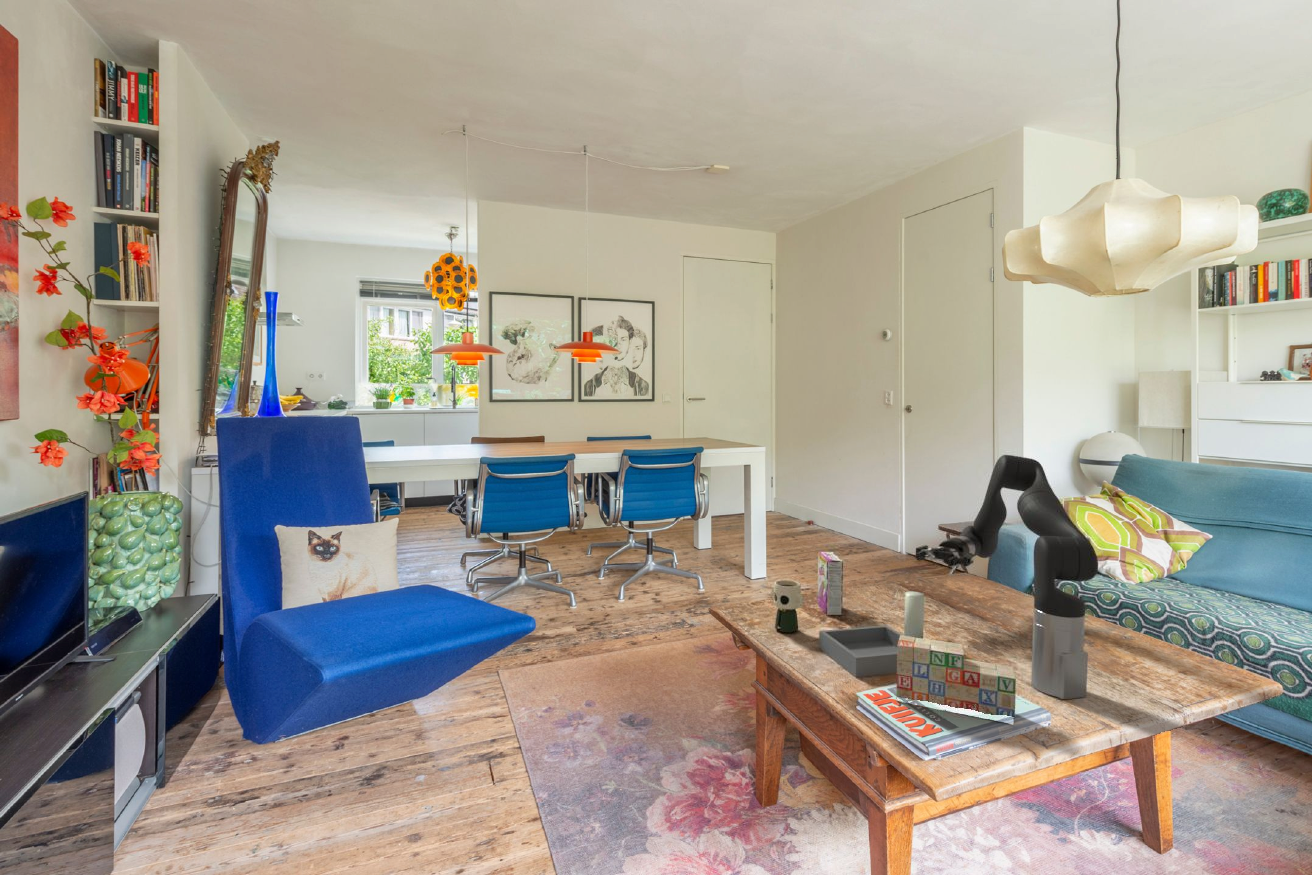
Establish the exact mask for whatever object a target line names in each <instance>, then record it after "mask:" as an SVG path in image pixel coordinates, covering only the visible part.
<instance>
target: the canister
mask: <svg viewBox="0 0 1312 875" xmlns="http://www.w3.org/2000/svg"><path fill="white" fill-rule="evenodd" d="M924 617H925V594H924V593H922V592H918V591H906V592H905V593H904V622H903V623H904V626H903V627H904V628H903V635H904V636H909V637H915V638H922V639H924Z"/></svg>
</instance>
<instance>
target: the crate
mask: <svg viewBox="0 0 1312 875" xmlns="http://www.w3.org/2000/svg"><path fill="white" fill-rule="evenodd" d="M900 635H903V636H904V634H902V633H900V632H899V631H897V630H895V629H893V628H892V627H890V626H888V624H887V625H886V624H885V625H873V626H864V627H863V626H862V627H852V628H849V627H848V628H838V629H829V630H828V629H825V630H819V634H818V636H819V637H818V649H819V650H820V651H822V652H823V653H824V654H825V655H826V656H828V657H829V658H830V659H832V660H833V661H834V662H835V663H837V664H838V665H839V666H841V667H842V668H843V669H845V670H846V671H847V672H848V673H849V674H851V675H852V676H853V677H855V678H865V677H873V676H882V675H883V676H884V675H893V674H894V675H895V674H897V648H898V641H899V638H900Z"/></svg>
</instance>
